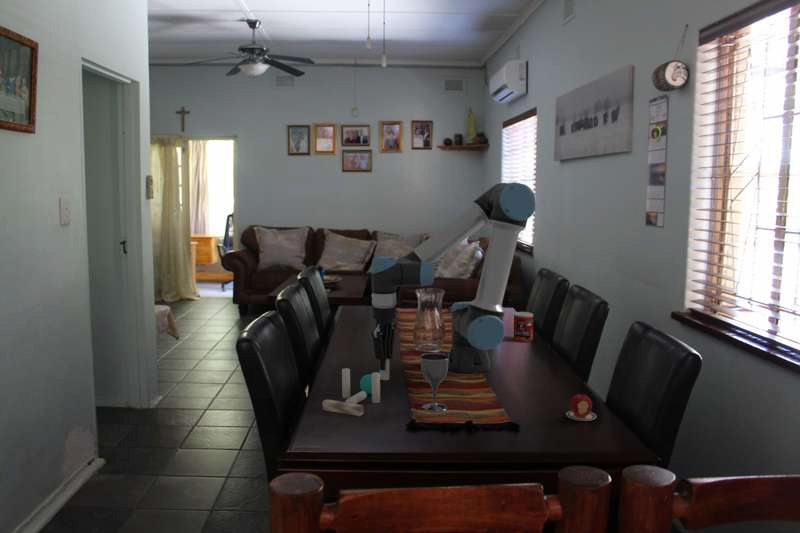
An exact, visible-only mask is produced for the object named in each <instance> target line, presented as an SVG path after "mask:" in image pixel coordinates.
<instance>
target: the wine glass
mask: <svg viewBox="0 0 800 533" xmlns="http://www.w3.org/2000/svg"><path fill="white" fill-rule="evenodd" d="M448 355H449V354H446V353H442V352H427V353H426V352H425V353H423V354H421V355H420V369H421V374H422V376H423V378H424V379H425V380H426V381H427V383H428V384H429V385H430V387H431V388H432V389H431V390H432V398H433V399H432V400H433V401H432V402H431V403H426V405H425V404H423V405H422V407H421V409H422V408H423V409H424V411H425V410H426V412H430V413H431V412H432V413H438V412H439V413H440V412H444V411H446V410H447V409H448V406H447V405H445V404H442V403H437V392H438V387H439V385H440V384H441V383H442V382H443V381H444V379H445V378H446V377H447V375H448V371H449V369H448V366H449V356H448ZM423 409H422V410H423Z"/></svg>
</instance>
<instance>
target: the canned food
mask: <svg viewBox="0 0 800 533" xmlns="http://www.w3.org/2000/svg"><path fill="white" fill-rule="evenodd" d="M533 329H534V314H533V313H532V312H527V311H517V312H515V313H513V340H514V341H515V342H518V343H530V342H532V341H533V337H534V336H533V334H534V330H533Z"/></svg>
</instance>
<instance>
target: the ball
mask: <svg viewBox="0 0 800 533" xmlns="http://www.w3.org/2000/svg"><path fill="white" fill-rule="evenodd" d="M359 388H360V390H361V391H365V392H366V394H367V395H372V373H369V374H368V373H367V374H365V375H363V376H362V377H361V378H360V381H359Z"/></svg>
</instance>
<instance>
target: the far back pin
mask: <svg viewBox="0 0 800 533" xmlns="http://www.w3.org/2000/svg"><path fill="white" fill-rule="evenodd" d="M341 388H342V389H341V393H342V394H341V395H342V398H343V399H349V398H350V397H351V369H350V368H347V367H346V368H342V369H341Z"/></svg>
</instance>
